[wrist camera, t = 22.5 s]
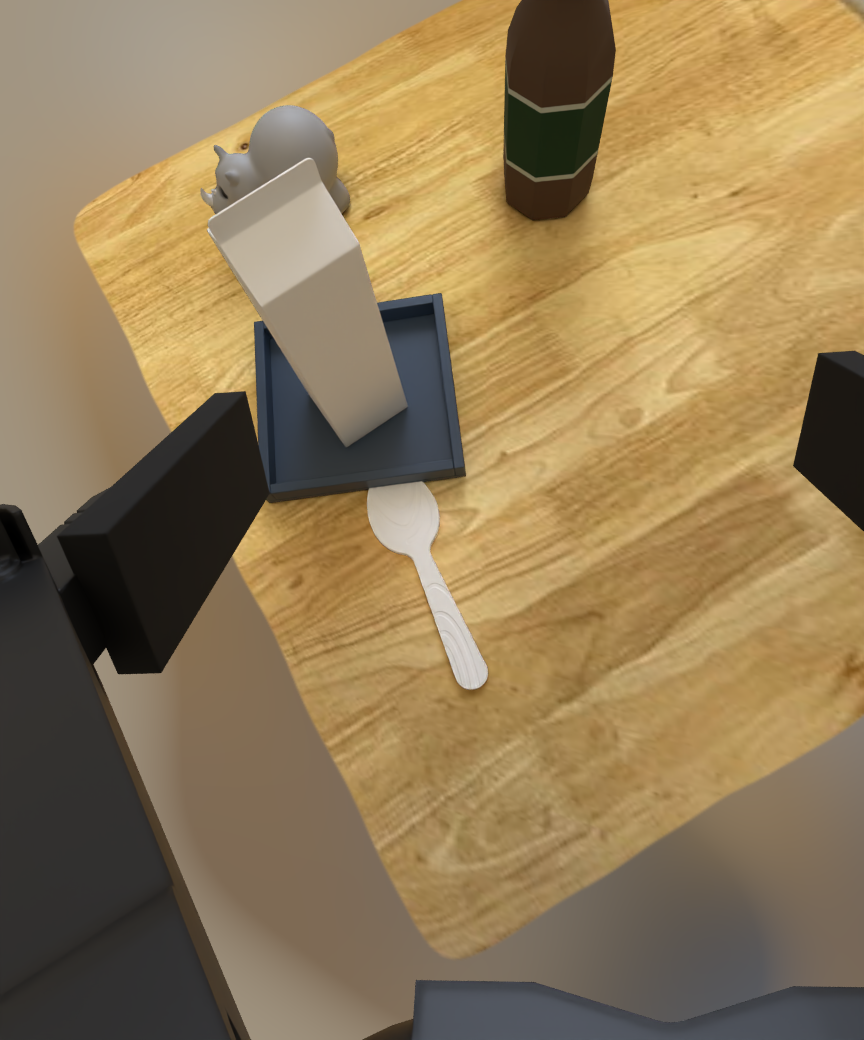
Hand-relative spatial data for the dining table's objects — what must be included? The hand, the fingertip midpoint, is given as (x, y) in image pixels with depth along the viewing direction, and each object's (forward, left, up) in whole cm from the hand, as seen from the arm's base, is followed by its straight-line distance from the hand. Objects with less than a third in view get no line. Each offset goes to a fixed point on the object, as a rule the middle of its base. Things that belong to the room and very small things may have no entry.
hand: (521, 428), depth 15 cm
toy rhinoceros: (+14, -38, -32) cm, 51 cm away
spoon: (+5, -3, -32) cm, 32 cm away
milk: (+9, -18, -31) cm, 37 cm away
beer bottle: (-9, -36, -32) cm, 49 cm away
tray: (+9, -18, -32) cm, 37 cm away
